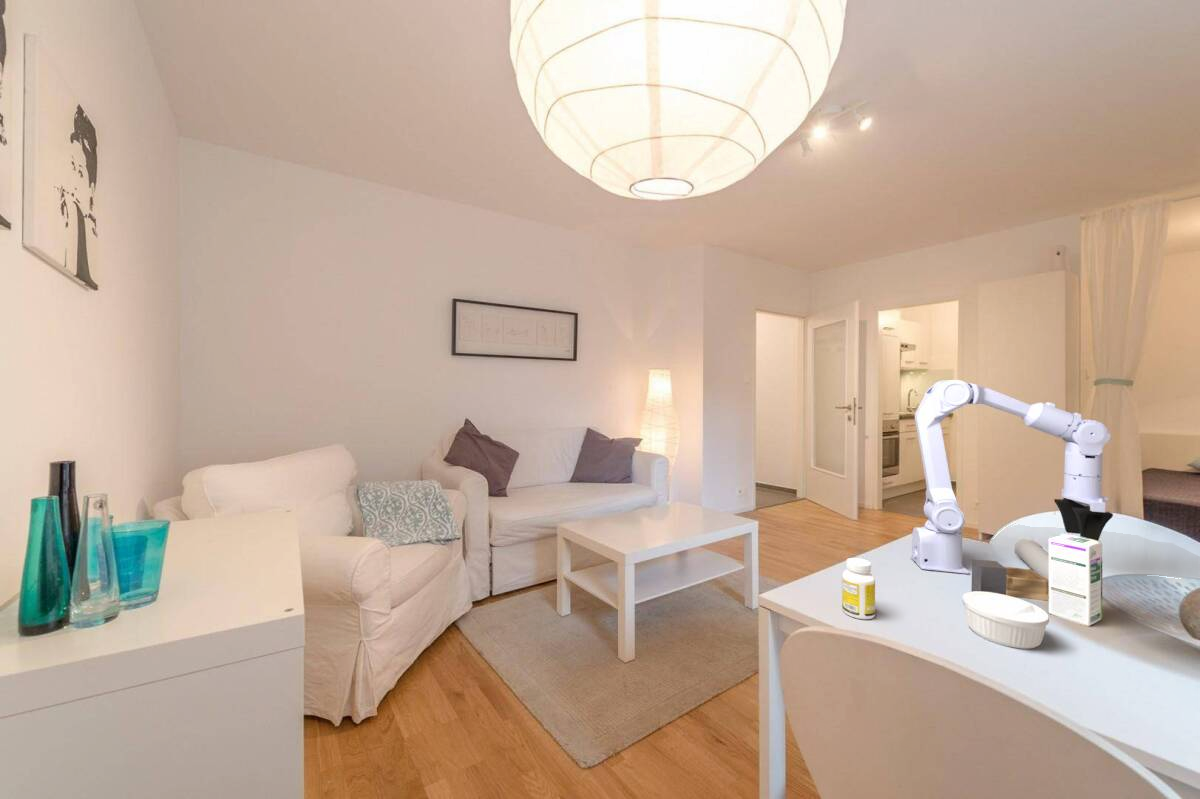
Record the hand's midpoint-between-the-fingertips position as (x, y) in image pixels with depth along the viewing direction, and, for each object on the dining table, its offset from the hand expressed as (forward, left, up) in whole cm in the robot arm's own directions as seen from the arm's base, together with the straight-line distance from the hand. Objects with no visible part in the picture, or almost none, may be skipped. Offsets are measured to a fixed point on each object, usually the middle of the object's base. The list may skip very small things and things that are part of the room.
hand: (1080, 537), depth 101 cm
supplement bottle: (-48, -29, -10) cm, 58 cm away
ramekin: (-26, -30, -10) cm, 42 cm away
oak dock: (-14, -8, -10) cm, 19 cm away
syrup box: (-11, -19, -10) cm, 24 cm away
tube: (-4, +3, -11) cm, 12 cm away
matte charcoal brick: (-23, -17, -10) cm, 31 cm away
